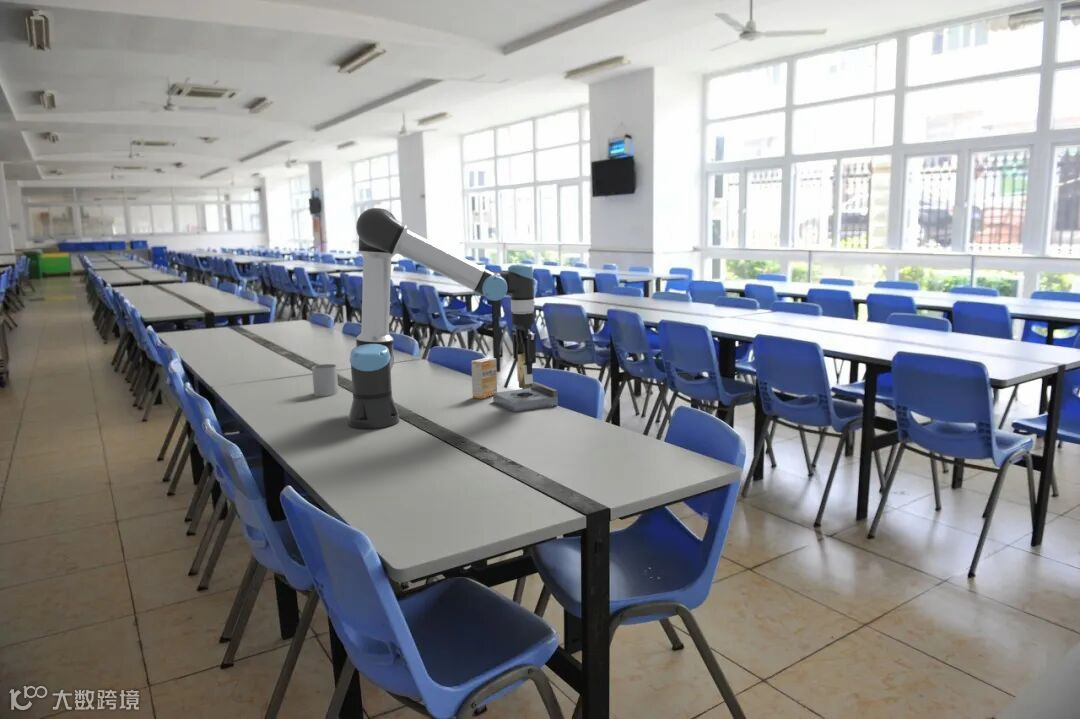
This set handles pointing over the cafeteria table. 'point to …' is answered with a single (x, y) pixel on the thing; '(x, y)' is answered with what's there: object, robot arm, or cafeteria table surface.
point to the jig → (527, 398)
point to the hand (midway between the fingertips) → (525, 382)
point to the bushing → (522, 371)
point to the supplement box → (484, 377)
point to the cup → (325, 380)
